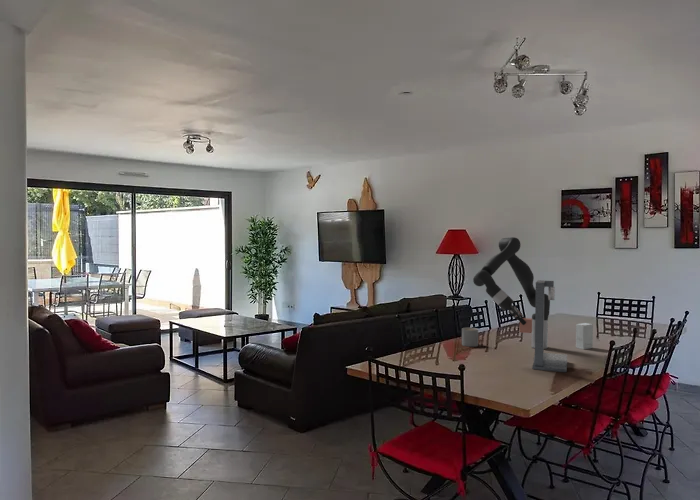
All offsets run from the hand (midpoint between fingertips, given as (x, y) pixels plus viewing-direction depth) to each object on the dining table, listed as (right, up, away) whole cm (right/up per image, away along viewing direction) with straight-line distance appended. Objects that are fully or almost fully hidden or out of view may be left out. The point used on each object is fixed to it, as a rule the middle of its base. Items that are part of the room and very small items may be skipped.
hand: (525, 322), depth 280 cm
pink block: (0, -5, 0) cm, 5 cm away
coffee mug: (-19, -20, +45) cm, 53 cm away
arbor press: (+10, -21, -8) cm, 25 cm away
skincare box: (+48, -21, +36) cm, 63 cm away
